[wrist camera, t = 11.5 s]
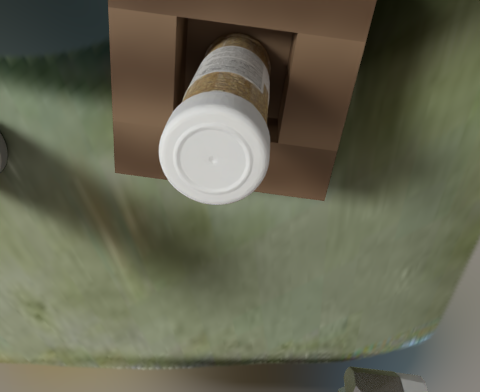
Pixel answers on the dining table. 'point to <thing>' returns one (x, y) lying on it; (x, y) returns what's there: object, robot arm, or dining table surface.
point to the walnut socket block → (281, 78)
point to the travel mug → (3, 153)
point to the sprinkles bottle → (221, 125)
